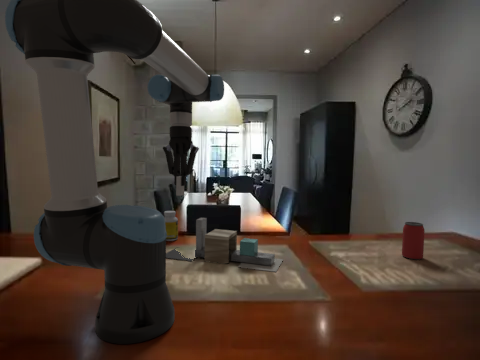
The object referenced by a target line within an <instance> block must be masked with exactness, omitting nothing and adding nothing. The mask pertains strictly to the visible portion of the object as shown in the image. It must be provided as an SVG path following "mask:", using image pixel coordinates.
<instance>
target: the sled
mask: <svg viewBox="0 0 480 360" xmlns="http://www.w3.org/2000/svg"><path fill="white" fill-rule="evenodd" d="M207 221H208V220H207V217H199V218H197V219H195V249H196V250H195V257H197V258H204V259H205V234H207V223H208V222H207ZM258 249H259V239H257V238H247V237H244V238H241V240H240V241H239V250H238V249H237V250H232V249H229V262H230V261H231V262H239V263H242V262H245V263H254V264H262V265H270V266H271V265H272V264H273V262H274V261H275V258H276V257H275V253H270V252H269V253H268V252H261V251H260V252H259V250H258Z"/></svg>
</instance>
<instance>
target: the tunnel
mask: <svg viewBox="0 0 480 360" xmlns="http://www.w3.org/2000/svg"><path fill="white" fill-rule="evenodd" d="M237 241H238V230H229V229H218V228H214V229H213V230H211V231H210V232H209V231H208V232H206V234H205V258H204V262H205V261H210V262H209V263H213V262H218V263H217V264H221V263H230V261H229V249H232V250H238V247H237V245H238V243H237Z"/></svg>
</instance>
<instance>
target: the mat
mask: <svg viewBox="0 0 480 360" xmlns="http://www.w3.org/2000/svg"><path fill="white" fill-rule="evenodd" d="M282 261H283V262H284V259H282V258H276V257H275V261H274V262H273V264H272V265H271V266H270V265H262V264H254V263H245V262H240V264H239V265H238V266H237V268H239V267H241V269H247V268H248V270H254V269H255V270H257V271H262V272H263V271H264V272H271V273H277V272H278V270H279V268H280V267H281V265H282V263H283V262H282ZM279 266H280V267H279Z"/></svg>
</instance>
